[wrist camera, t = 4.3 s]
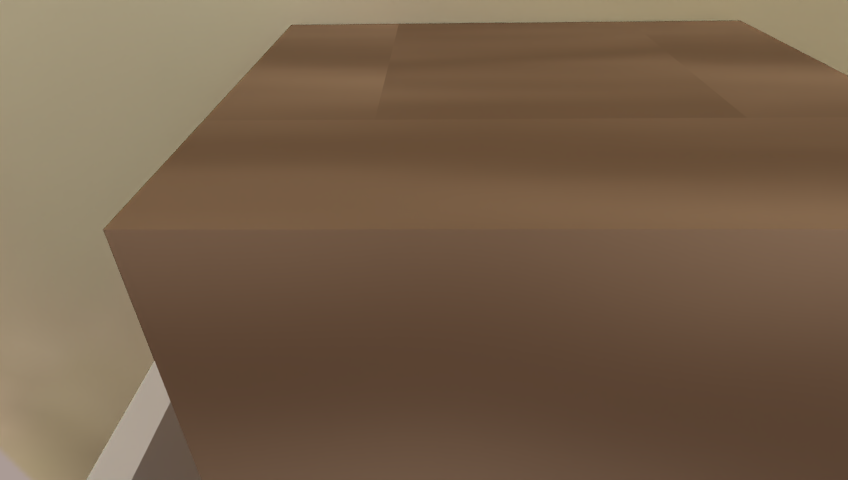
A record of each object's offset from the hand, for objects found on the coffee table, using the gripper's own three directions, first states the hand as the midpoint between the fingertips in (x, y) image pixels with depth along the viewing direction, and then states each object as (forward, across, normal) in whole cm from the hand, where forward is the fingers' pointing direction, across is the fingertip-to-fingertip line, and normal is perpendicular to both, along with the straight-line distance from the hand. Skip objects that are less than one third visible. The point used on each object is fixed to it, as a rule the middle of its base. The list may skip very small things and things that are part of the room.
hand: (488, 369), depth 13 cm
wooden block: (0, 0, 0) cm, 0 cm away
